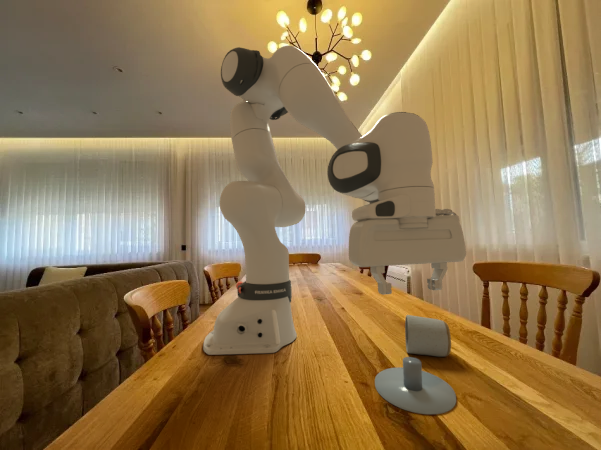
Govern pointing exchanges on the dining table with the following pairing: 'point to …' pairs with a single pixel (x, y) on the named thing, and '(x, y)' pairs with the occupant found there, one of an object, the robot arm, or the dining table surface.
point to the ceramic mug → (427, 336)
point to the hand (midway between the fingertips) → (410, 291)
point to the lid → (415, 389)
